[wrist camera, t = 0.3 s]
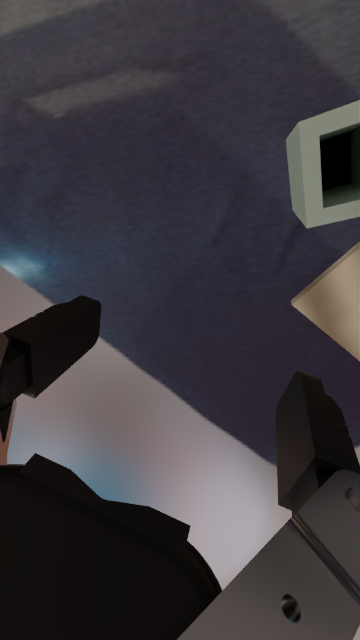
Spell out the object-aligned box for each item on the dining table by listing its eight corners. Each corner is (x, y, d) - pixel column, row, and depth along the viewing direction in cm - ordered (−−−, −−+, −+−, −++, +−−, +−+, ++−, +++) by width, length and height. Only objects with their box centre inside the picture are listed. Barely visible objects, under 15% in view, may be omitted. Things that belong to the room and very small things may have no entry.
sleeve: (285, 139, 23) (298, 122, 15) (365, 112, 21) (431, 74, 13) (292, 209, 26) (306, 228, 18) (364, 191, 24) (420, 202, 15)
